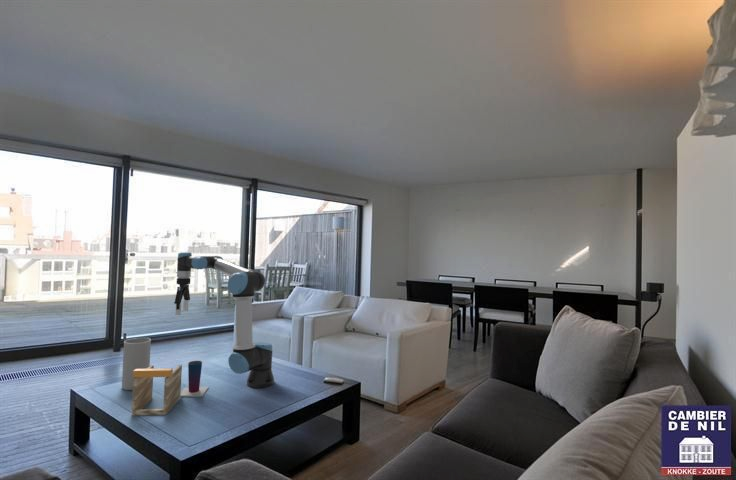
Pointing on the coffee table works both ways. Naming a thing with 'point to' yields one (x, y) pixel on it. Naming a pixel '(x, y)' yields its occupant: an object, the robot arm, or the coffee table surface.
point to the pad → (200, 393)
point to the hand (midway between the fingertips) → (181, 312)
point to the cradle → (144, 393)
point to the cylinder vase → (134, 359)
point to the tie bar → (153, 372)
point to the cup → (194, 375)
